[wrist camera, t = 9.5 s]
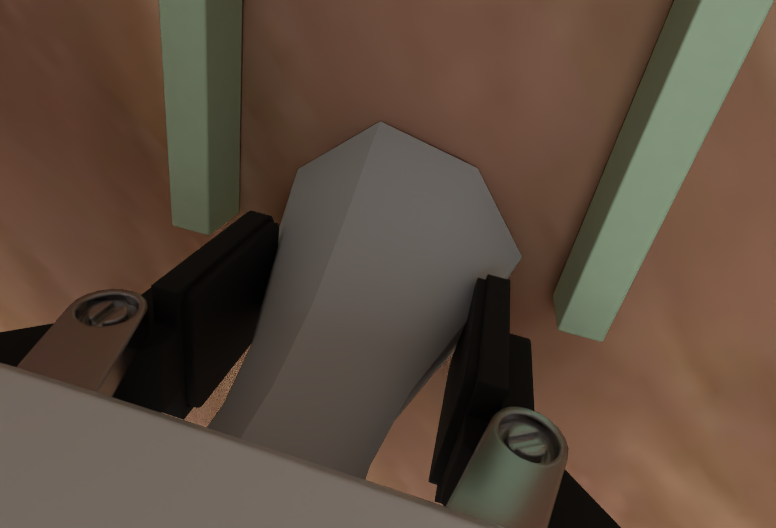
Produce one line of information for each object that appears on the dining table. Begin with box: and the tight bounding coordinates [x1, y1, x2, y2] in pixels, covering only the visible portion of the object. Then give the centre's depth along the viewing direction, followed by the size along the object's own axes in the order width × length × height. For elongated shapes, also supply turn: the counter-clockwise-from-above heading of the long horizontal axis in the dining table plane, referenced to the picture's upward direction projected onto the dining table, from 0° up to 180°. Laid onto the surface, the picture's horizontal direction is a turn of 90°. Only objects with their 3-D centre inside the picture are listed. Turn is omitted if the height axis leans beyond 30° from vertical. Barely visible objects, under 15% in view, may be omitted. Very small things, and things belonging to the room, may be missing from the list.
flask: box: [207, 121, 522, 480], centre depth 10 cm, size 7×7×10 cm
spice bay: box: [159, 0, 774, 342], centre depth 11 cm, size 12×11×2 cm
